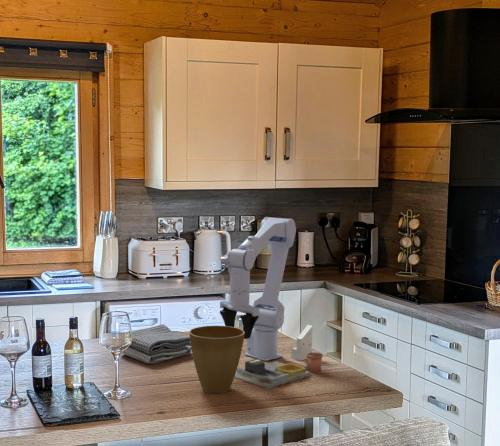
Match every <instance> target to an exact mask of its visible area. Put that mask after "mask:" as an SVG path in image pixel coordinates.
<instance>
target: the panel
mask: <svg viewBox="0 0 500 446" xmlns="http://www.w3.org/2000/svg"><path fill="white" fill-rule="evenodd" d="M311 374H312V373H311V372H309V371H308V370H307V368H306V367H303V366H300V365H296V364H293V363H283V362H279V361H276V360H275V361H272V362H268V363H265V373H261V374H257V373H254V372H251V371H248V370H245V368H241V367H237V370H236V374H235V377H234V378H236V379H239V380H242V381H245V382H247V383H250V384H255V385H257V386H259V387H262V388H266V389H270V388H274V387H277V386H281V385H283V384H287V383H290V382H293V381H297V380H300V379H304V378H306V377H307V378H308V377H310V376H311Z"/></svg>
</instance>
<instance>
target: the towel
mask: <svg viewBox="0 0 500 446" xmlns="http://www.w3.org/2000/svg"><path fill="white" fill-rule="evenodd" d="M131 331H132V336H133V337H132V344H131V345H130V346H129V347H128V348H127V349H126V350H124V351H123V352H121V354H123V355H125V356H127V357H129V358H132V359H135V360H137V361H141V362H142V363H144V364H147V365H148V364H149V365H155V364H158V363H162V362H166V361H168V360H169V361H170V360H172V359H176V358H179V357H184V356H188V355H190V354H192V348H191V341H190V336H187V335H184V334H180V333H177V332H173V330H172V329H170V328H169V327H168V326H166V325H165V324H162V323H161V324H158V325H155V326H151V327H146V328H142V329H137V330H131Z"/></svg>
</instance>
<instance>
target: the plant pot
mask: <svg viewBox="0 0 500 446" xmlns="http://www.w3.org/2000/svg"><path fill="white" fill-rule="evenodd" d="M188 333H189V337H190V342H191V346H190V347H191V348H192V349H191V354H192V358H193V363H194V365H195V366H194V367H195V371H196V374H197V377H198V381H199V383H200V386H201V388H202V390H203V391H204V392H205V393H206V392H207V393H210V394H221V393H227V392H229V390H230V389H231V387H232V384H233V381H234V378H236V377H235V374H236V372H237V368H239V363H240V359H241V356H242V350H243V345H244V340H245V339H244V334H245V332H244V331H243V328H238V327H235V326H234V327H229V326H225V325H205V326H204V325H203V326H197V327H194V328H191V329H190V330H189V332H188Z"/></svg>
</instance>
